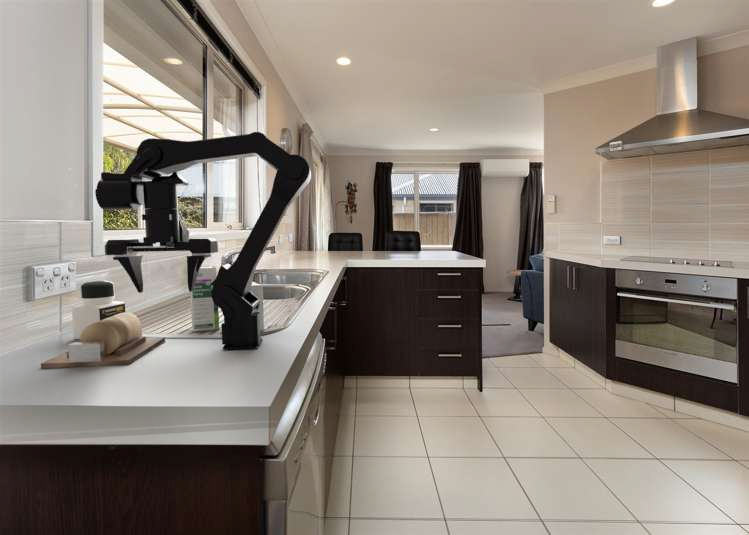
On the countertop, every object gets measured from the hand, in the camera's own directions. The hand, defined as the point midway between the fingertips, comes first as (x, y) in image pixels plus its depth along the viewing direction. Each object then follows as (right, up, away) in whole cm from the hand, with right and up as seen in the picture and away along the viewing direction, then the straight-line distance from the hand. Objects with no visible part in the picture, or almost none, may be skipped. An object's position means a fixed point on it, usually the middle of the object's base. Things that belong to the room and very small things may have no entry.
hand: (166, 291), depth 83 cm
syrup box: (+1, -10, +18) cm, 20 cm away
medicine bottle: (-20, -11, +12) cm, 26 cm away
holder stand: (-10, -11, -2) cm, 15 cm away
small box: (+11, -10, +17) cm, 22 cm away
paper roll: (-10, -10, -2) cm, 14 cm away
